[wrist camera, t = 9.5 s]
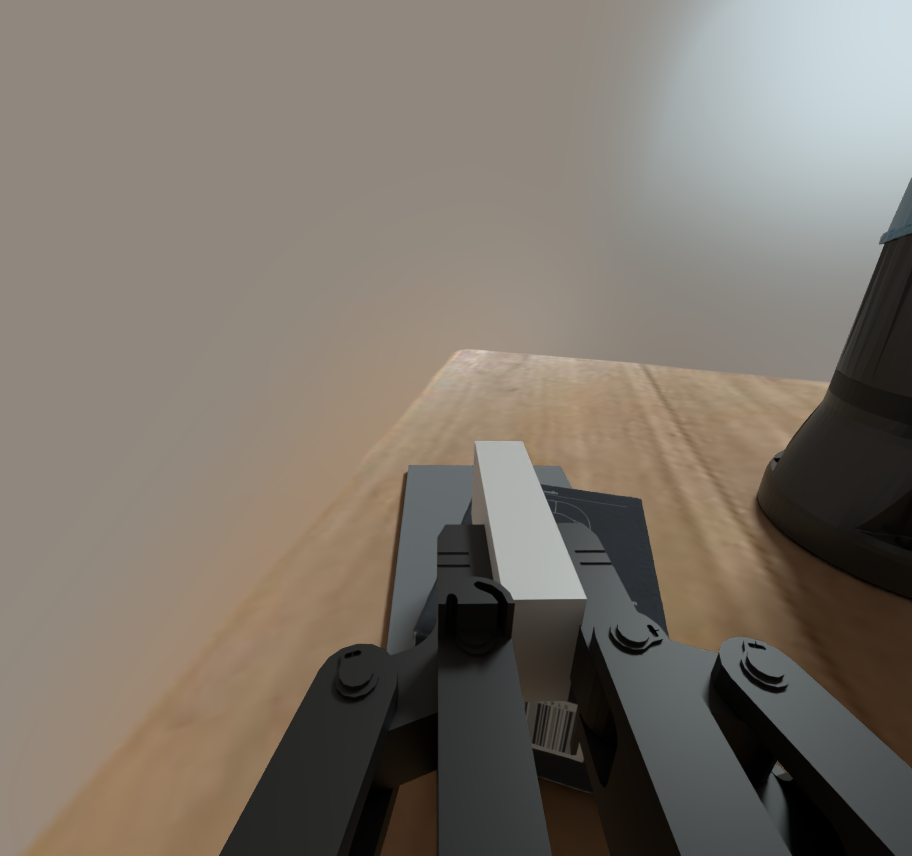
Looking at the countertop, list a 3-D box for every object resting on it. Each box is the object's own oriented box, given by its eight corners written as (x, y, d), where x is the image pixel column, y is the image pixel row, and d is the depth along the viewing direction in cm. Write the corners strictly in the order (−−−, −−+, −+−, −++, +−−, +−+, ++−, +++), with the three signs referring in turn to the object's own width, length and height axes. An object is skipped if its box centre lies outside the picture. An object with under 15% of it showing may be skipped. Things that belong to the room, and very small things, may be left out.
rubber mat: (408, 470, 35) (408, 465, 35) (559, 471, 36) (560, 465, 35) (378, 731, 17) (377, 722, 17) (689, 724, 17) (692, 715, 17)
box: (644, 821, 14) (624, 586, 23) (685, 703, 12) (645, 493, 21) (410, 746, 16) (478, 556, 25) (405, 631, 14) (482, 469, 23)
